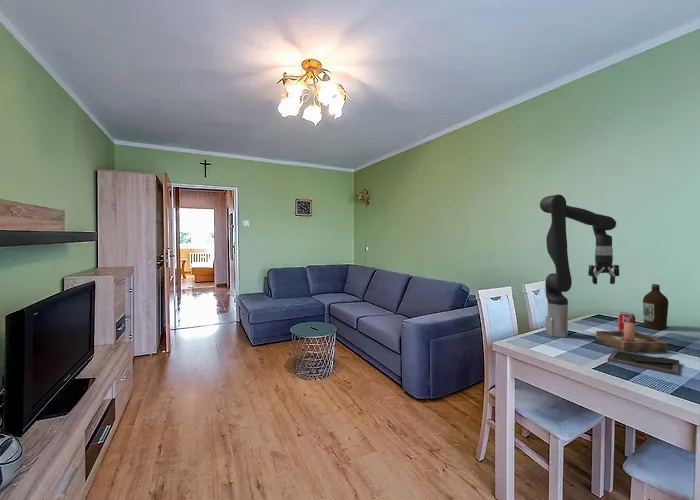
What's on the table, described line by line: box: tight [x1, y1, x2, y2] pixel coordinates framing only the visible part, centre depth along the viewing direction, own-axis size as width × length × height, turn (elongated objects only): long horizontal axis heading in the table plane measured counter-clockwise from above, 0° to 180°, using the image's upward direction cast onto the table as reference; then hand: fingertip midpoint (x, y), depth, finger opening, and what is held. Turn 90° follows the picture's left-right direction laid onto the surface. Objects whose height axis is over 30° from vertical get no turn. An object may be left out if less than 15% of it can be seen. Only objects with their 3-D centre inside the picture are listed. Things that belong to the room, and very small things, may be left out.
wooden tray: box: [595, 330, 668, 354], centre depth 155 cm, size 18×18×4 cm
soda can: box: [617, 311, 636, 331], centre depth 171 cm, size 7×7×12 cm
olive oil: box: [642, 283, 670, 331], centre depth 184 cm, size 11×11×25 cm
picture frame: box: [607, 348, 680, 376], centre depth 135 cm, size 16×2×21 cm
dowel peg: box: [624, 322, 636, 342], centre depth 155 cm, size 4×4×11 cm
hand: (603, 284), depth 175 cm, fingers open, 8 cm apart
